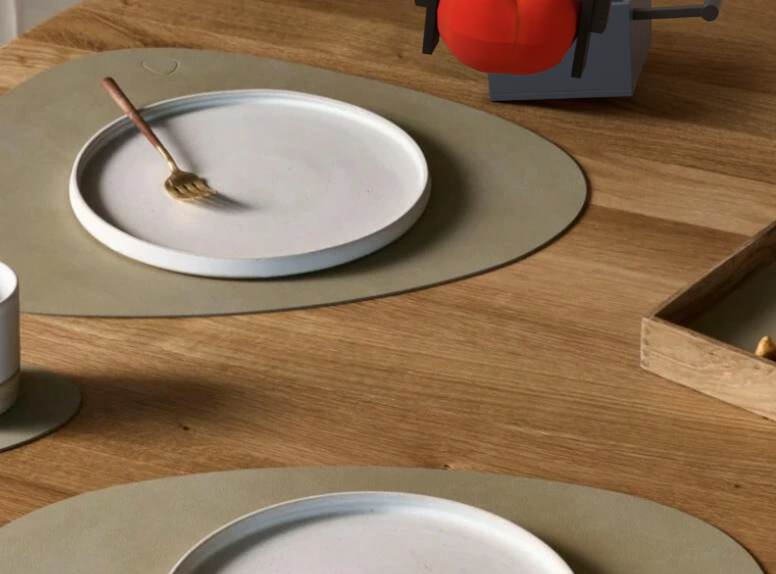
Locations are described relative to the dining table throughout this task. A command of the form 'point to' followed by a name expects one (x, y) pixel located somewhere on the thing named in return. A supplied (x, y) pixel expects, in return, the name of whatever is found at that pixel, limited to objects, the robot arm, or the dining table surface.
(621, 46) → the handled storage bin
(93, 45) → the dining table surface
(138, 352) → the dining table surface
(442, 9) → the tomato
